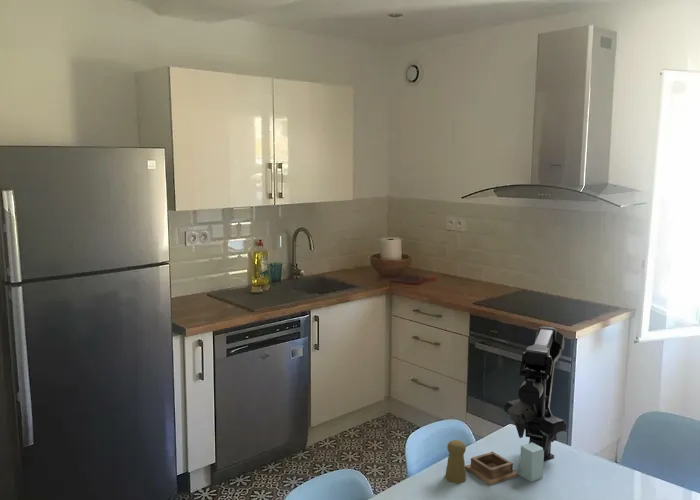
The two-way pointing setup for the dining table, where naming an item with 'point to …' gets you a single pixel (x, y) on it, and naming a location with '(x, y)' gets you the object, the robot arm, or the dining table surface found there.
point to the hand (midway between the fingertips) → (532, 443)
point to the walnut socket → (491, 468)
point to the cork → (456, 462)
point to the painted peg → (531, 462)
